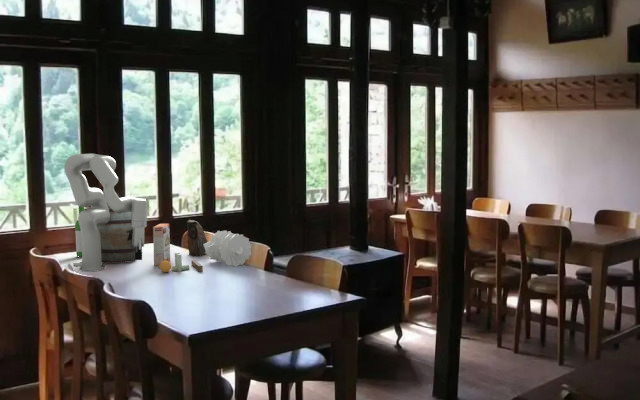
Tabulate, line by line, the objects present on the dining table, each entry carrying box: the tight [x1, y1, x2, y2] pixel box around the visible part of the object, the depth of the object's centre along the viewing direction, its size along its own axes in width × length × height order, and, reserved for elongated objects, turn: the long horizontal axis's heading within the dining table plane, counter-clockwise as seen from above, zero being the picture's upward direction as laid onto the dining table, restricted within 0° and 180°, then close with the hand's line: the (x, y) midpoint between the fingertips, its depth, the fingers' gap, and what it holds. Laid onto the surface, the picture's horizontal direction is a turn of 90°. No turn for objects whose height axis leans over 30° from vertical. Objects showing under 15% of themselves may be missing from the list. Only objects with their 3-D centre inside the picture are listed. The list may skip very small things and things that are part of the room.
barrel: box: [97, 204, 136, 264], centre depth 378 cm, size 22×22×30 cm
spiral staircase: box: [203, 230, 253, 267], centre depth 367 cm, size 18×18×25 cm
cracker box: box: [152, 223, 171, 267], centre depth 370 cm, size 14×6×21 cm, turn 179°
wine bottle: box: [74, 206, 85, 258], centre depth 392 cm, size 8×8×30 cm
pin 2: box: [176, 253, 183, 273], centre depth 350 cm, size 2×2×8 cm
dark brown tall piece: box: [186, 219, 209, 258], centre depth 395 cm, size 13×13×20 cm
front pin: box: [171, 264, 190, 272], centre depth 353 cm, size 2×2×8 cm
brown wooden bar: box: [190, 259, 204, 273], centre depth 356 cm, size 2×18×3 cm, turn 22°
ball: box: [158, 261, 172, 273], centre depth 348 cm, size 6×6×6 cm
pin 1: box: [174, 252, 181, 266], centre depth 355 cm, size 2×2×8 cm
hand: (138, 259), depth 346 cm, fingers closed
